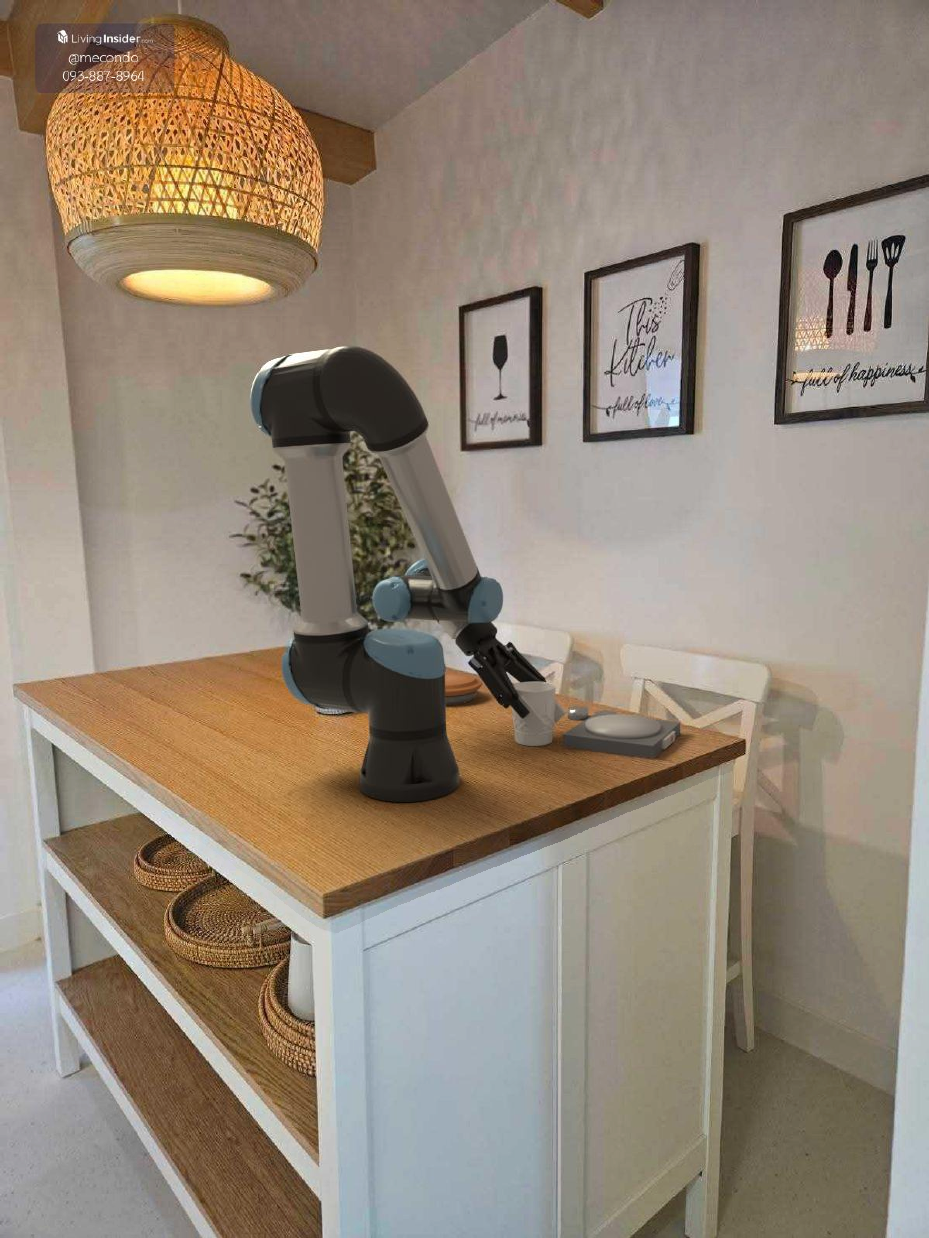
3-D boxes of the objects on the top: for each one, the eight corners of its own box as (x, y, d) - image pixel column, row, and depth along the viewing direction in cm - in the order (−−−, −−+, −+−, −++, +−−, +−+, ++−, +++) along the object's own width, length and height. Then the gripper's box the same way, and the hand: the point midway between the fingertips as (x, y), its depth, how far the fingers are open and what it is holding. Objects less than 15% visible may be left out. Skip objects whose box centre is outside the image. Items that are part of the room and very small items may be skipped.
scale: (656, 759, 133) (656, 741, 132) (562, 746, 141) (562, 729, 141) (683, 734, 146) (684, 718, 146) (596, 724, 155) (596, 708, 154)
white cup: (554, 748, 140) (553, 691, 139) (508, 746, 142) (507, 690, 141) (558, 735, 148) (557, 681, 147) (515, 734, 150) (514, 681, 148)
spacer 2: (611, 726, 153) (611, 716, 153) (591, 724, 155) (591, 714, 155) (618, 721, 157) (618, 711, 156) (599, 719, 159) (599, 709, 158)
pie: (497, 699, 177) (496, 676, 177) (440, 712, 168) (439, 688, 167) (453, 688, 189) (453, 667, 189) (398, 699, 180) (397, 677, 179)
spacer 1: (583, 722, 157) (583, 712, 157) (564, 719, 159) (564, 709, 159) (591, 717, 161) (591, 707, 160) (572, 715, 163) (572, 705, 162)
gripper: (484, 633, 159) (561, 722, 153) (427, 650, 142) (511, 752, 136) (507, 607, 156) (587, 697, 150) (452, 622, 138) (540, 724, 132)
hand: (551, 723), depth 143 cm, fingers closed on white cup, 8 cm apart
